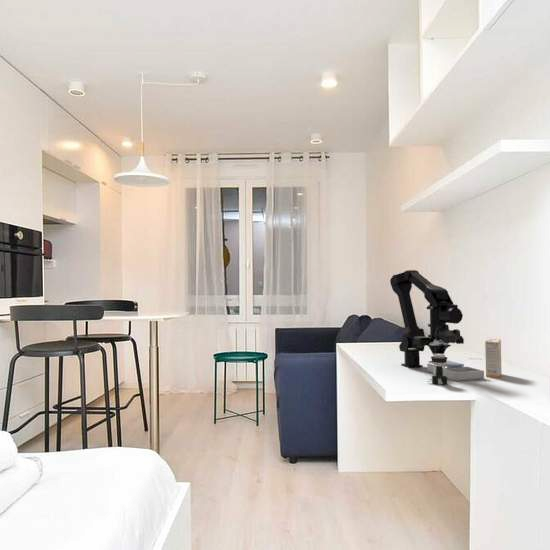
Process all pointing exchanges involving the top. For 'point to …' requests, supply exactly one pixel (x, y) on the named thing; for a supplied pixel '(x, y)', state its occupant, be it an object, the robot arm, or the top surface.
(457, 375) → the grey tray
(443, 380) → the push button
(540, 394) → the top surface
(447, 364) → the panel
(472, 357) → the top surface
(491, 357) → the supplement box
